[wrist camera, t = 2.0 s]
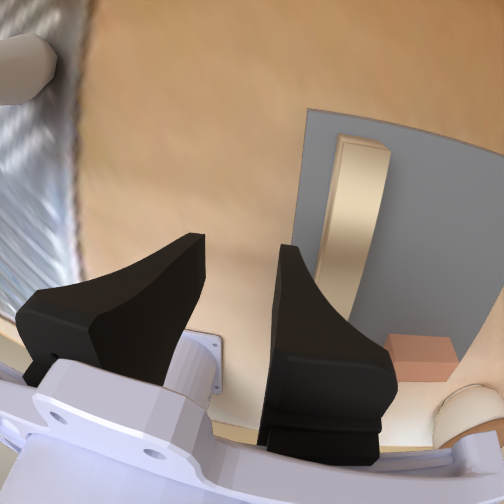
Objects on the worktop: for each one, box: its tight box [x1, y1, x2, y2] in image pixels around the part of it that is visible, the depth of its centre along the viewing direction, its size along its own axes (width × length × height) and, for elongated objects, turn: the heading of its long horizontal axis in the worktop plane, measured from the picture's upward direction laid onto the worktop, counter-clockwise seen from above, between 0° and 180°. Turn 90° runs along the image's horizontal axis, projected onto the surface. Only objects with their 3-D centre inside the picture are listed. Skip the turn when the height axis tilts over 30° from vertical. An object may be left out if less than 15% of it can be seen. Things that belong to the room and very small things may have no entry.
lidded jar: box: [432, 384, 504, 450], centre depth 27 cm, size 11×11×9 cm
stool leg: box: [313, 133, 391, 321], centre depth 19 cm, size 14×3×3 cm, turn 176°
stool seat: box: [291, 108, 504, 382], centre depth 20 cm, size 19×18×5 cm
